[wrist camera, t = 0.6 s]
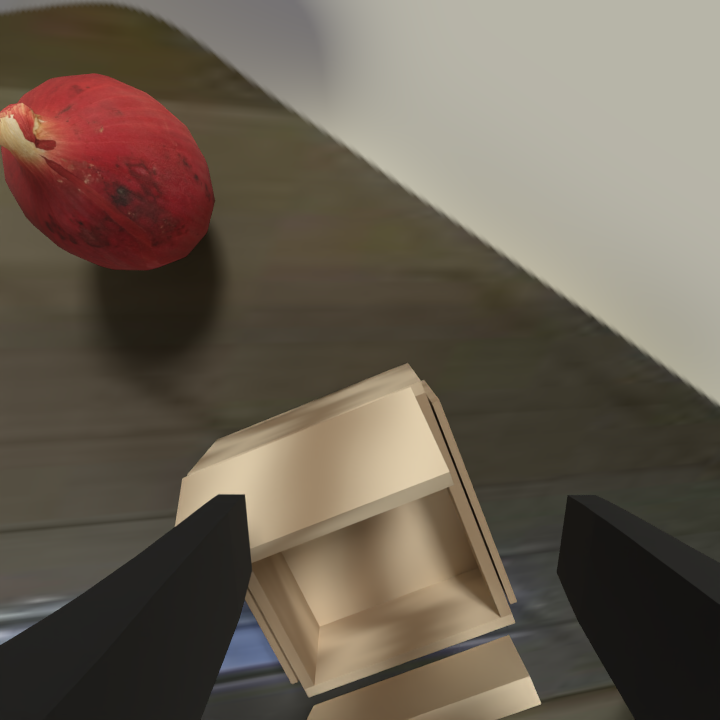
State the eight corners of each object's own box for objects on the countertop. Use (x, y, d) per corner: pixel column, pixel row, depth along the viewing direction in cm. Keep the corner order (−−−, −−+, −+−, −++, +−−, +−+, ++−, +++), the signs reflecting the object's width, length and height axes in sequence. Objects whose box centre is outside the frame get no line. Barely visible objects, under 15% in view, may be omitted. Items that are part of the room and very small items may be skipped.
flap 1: (183, 589, 12) (166, 581, 12) (195, 488, 15) (182, 478, 14) (453, 484, 12) (449, 471, 11) (415, 400, 14) (410, 386, 14)
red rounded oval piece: (265, 200, 17) (192, 129, 9) (183, 299, 18) (51, 313, 10) (155, 99, 16) (-31, -77, 8) (75, 208, 17) (-167, 142, 9)
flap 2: (313, 705, 17) (319, 727, 17) (284, 762, 14) (291, 791, 13) (508, 634, 16) (517, 656, 16) (529, 676, 13) (541, 703, 13)
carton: (308, 632, 21) (300, 700, 18) (209, 442, 19) (178, 478, 16) (495, 563, 21) (523, 619, 17) (415, 359, 18) (430, 376, 15)
